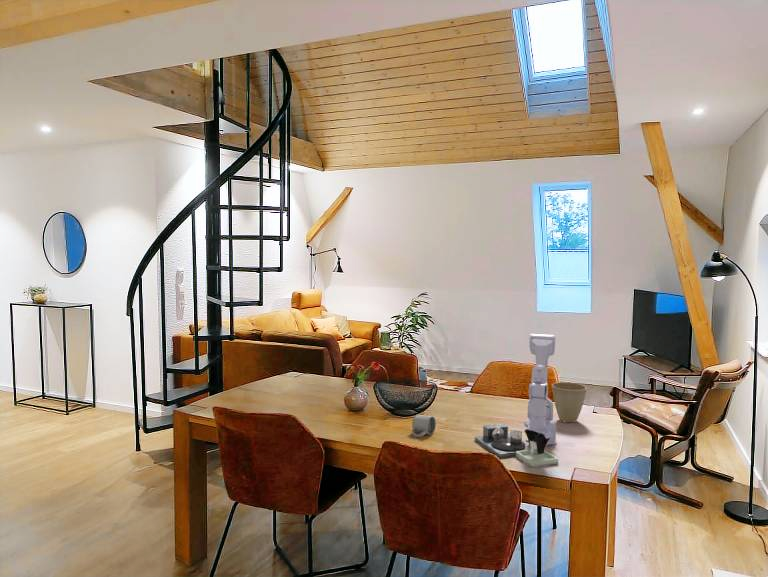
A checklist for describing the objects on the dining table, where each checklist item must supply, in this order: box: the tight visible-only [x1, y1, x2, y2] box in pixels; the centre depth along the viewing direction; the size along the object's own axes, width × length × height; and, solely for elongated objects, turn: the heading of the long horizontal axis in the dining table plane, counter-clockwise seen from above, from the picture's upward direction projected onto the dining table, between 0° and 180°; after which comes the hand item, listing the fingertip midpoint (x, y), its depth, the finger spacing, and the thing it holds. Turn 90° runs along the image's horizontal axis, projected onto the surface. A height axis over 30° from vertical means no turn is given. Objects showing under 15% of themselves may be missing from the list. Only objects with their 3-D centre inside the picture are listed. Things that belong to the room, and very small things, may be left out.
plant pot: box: [551, 381, 587, 423], centre depth 259 cm, size 15×15×16 cm
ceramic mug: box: [411, 414, 437, 438], centre depth 241 cm, size 11×8×8 cm
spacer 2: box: [530, 439, 541, 455], centre depth 212 cm, size 4×4×5 cm
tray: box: [515, 449, 559, 468], centre depth 212 cm, size 11×11×2 cm
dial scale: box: [474, 423, 530, 459], centre depth 226 cm, size 16×20×6 cm
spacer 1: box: [510, 428, 523, 444], centre depth 224 cm, size 4×4×5 cm
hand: (536, 451), depth 212 cm, fingers closed on spacer 2, 4 cm apart
